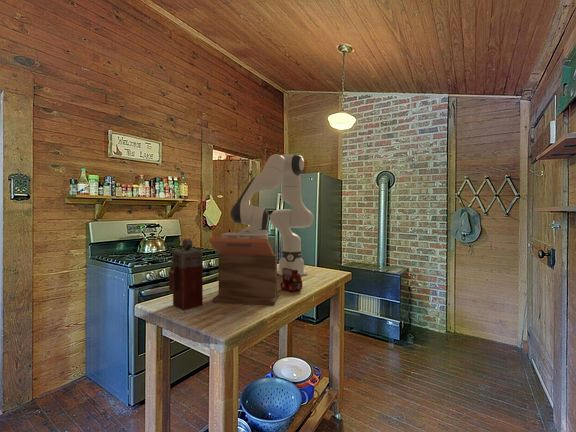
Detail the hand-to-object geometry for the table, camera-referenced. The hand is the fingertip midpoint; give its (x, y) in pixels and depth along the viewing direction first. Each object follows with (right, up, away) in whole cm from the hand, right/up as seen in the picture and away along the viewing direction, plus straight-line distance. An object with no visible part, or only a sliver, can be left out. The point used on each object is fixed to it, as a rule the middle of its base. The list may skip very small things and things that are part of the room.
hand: (240, 239), depth 126 cm
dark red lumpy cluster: (+21, -27, +26) cm, 43 cm away
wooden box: (+1, -27, +10) cm, 29 cm away
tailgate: (+1, -7, +9) cm, 12 cm away
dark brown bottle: (-23, -28, +1) cm, 36 cm away
